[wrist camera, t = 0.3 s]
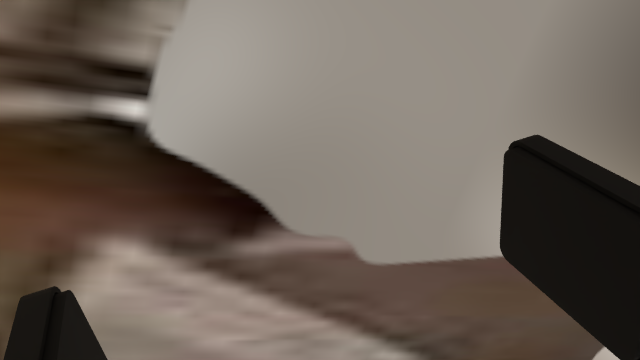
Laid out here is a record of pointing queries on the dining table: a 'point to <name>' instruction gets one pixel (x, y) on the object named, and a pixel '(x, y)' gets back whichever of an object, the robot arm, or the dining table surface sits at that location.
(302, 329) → the dining table surface
